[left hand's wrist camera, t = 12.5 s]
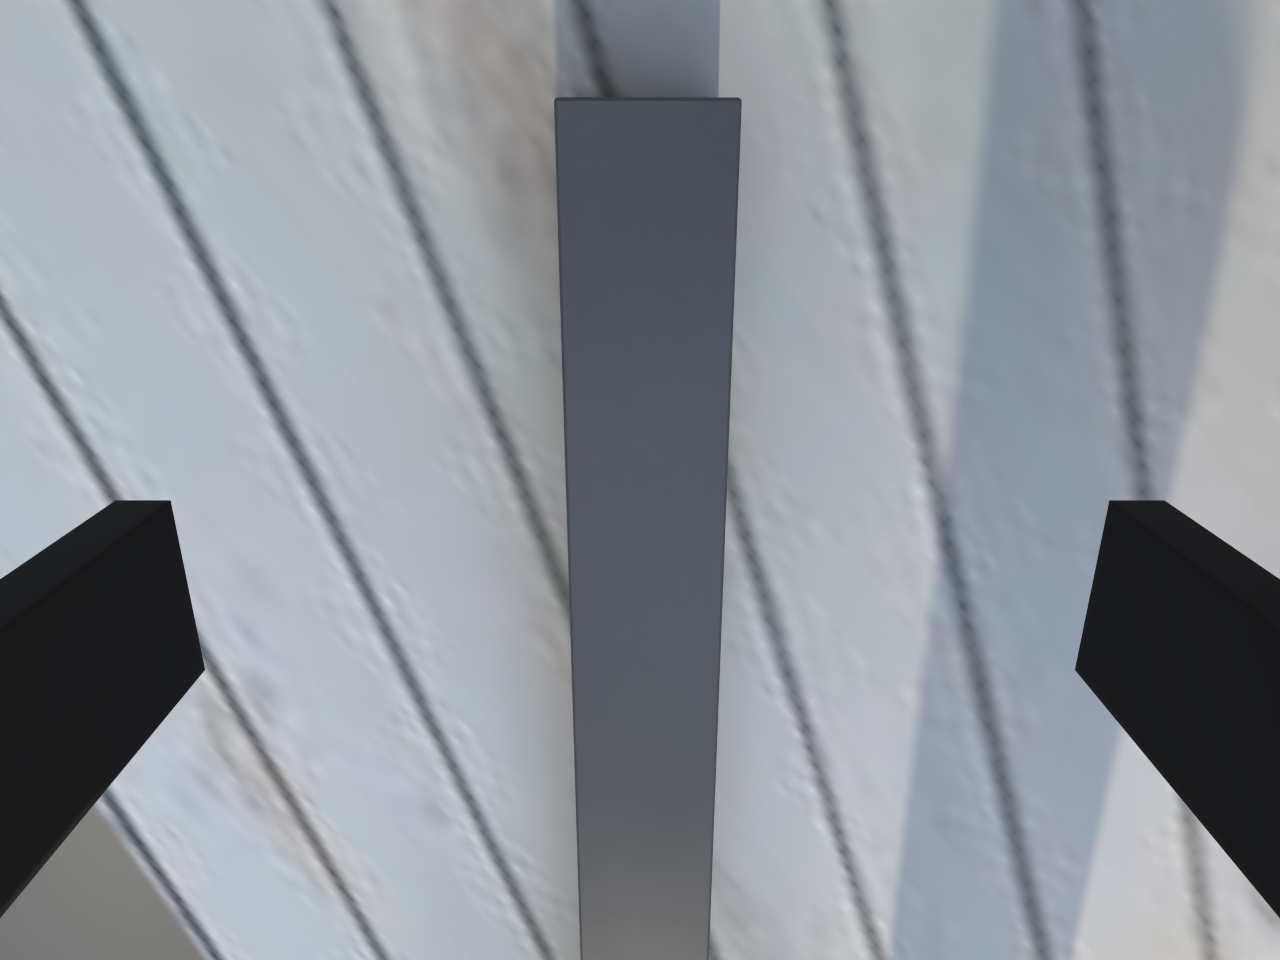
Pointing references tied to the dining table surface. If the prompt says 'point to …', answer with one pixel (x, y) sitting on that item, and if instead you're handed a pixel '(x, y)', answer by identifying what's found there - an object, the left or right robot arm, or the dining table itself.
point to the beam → (646, 501)
